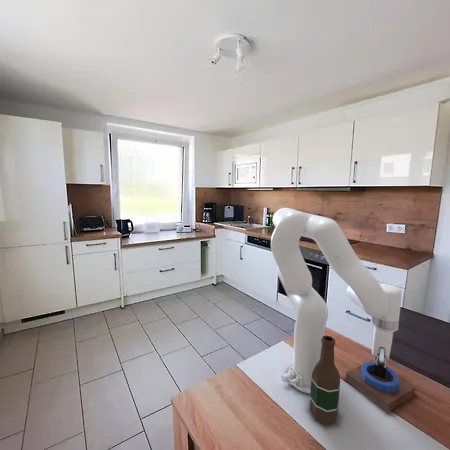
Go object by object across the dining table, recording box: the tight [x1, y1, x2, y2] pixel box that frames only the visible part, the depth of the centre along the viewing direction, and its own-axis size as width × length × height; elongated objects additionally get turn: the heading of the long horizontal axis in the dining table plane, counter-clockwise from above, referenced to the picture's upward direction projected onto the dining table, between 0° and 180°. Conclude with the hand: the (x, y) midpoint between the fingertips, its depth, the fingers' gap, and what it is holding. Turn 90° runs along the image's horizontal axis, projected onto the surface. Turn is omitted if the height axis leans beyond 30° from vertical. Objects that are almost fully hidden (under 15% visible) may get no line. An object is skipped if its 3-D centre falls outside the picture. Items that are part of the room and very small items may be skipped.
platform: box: [345, 359, 416, 414], centre depth 81 cm, size 14×14×3 cm
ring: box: [361, 361, 400, 393], centre depth 80 cm, size 11×11×2 cm
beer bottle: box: [309, 335, 341, 426], centre depth 70 cm, size 8×8×24 cm
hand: (380, 368), depth 84 cm, fingers open, 7 cm apart
